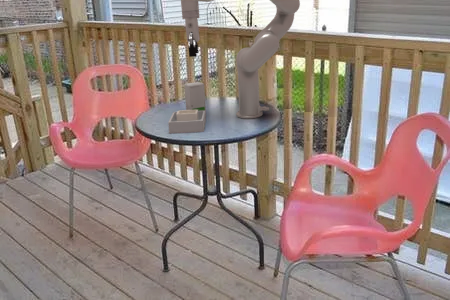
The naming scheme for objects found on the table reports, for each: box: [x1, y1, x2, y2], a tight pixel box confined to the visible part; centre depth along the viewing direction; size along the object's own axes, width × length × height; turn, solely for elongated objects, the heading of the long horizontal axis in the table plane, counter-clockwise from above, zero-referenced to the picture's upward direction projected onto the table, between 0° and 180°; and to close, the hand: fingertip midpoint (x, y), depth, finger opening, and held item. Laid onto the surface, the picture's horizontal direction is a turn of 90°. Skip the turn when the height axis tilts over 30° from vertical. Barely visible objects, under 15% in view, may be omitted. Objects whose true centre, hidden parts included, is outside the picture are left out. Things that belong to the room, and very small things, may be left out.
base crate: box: [167, 111, 207, 134], centre depth 193 cm, size 15×16×5 cm
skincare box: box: [183, 81, 207, 113], centre depth 208 cm, size 8×7×16 cm
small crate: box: [176, 109, 199, 121], centre depth 192 cm, size 9×6×6 cm, turn 89°
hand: (193, 54), depth 193 cm, fingers open, 9 cm apart
